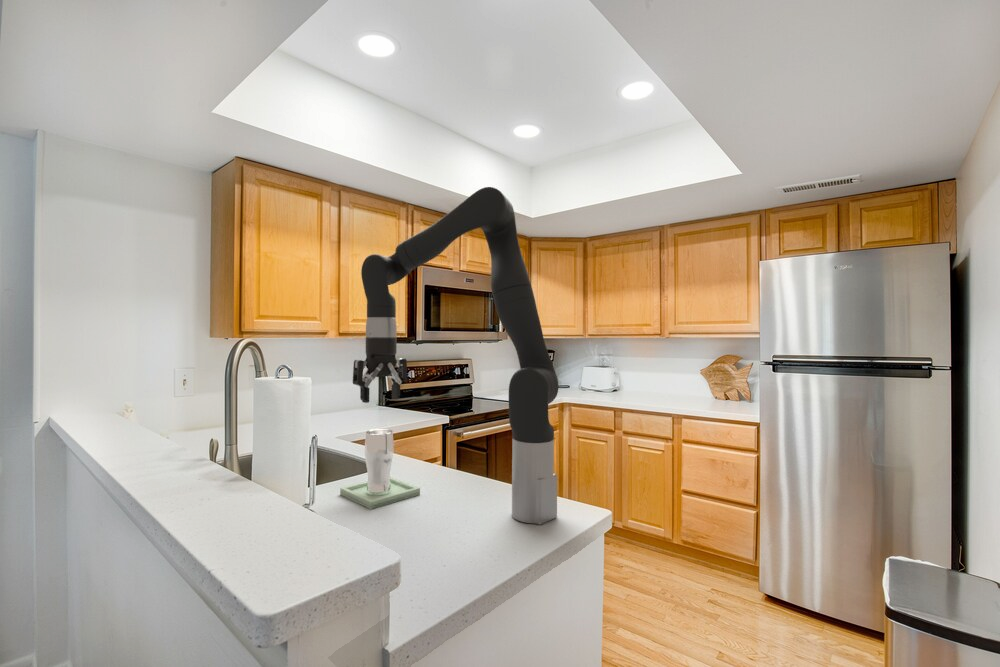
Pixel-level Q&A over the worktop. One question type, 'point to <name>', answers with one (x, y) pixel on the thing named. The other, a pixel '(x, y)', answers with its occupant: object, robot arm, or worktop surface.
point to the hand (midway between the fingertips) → (380, 400)
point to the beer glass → (379, 461)
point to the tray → (397, 493)
